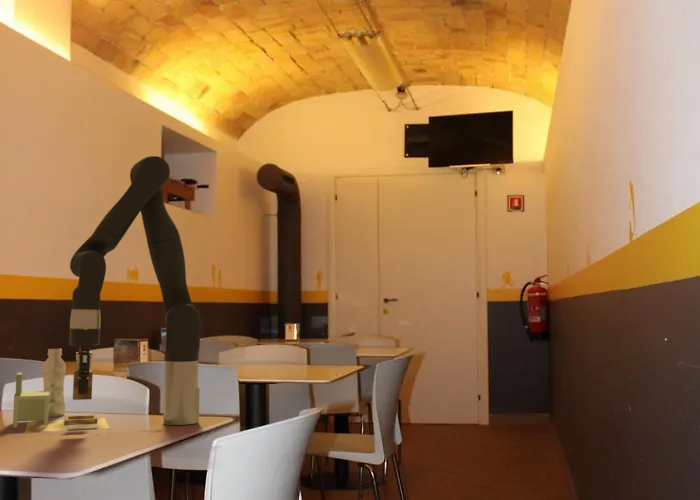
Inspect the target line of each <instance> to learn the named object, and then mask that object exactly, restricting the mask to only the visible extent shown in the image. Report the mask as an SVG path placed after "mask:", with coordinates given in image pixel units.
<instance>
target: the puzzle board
mask: <svg viewBox="0 0 700 500" xmlns="http://www.w3.org/2000/svg"><path fill="white" fill-rule="evenodd" d="M105 429H107V430H108V429H110V426H109V424H108V422H107V419H106V418H105V417H97V414H86V415H66V416H65V415H64V419H55V420H53V419H50V420H49V419H48V426H44V420H39V421H26V427H25V434H31V433H32V434H33V433H34V434H35V433H36V434H37V433H49V432H50V433H53V432H54V433H55V432H68V431H84V430H86V431H88V430H89V431H90V430H91V431H92V430H105ZM68 435H70V434H67V436H68ZM49 436H52V435H49ZM31 437H33V438H34V435H33V436H31Z"/></svg>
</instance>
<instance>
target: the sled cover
mask: <svg viewBox="0 0 700 500" xmlns="http://www.w3.org/2000/svg"><path fill="white" fill-rule="evenodd" d="M15 375H16V376H15V392H14V393H15V394H14V395H13V411H12V412H13V413H12V415H13V416H12V428H17V427H18V422H28V421H44V426H48V421H49V417H48V413H49V391H44V390H42V391H41V390H39V391H38V390H37V391H23V390H22V389H23V388H22V387H23V372H21V371H20V372H19V371H18V372H17V373H16V374H15Z"/></svg>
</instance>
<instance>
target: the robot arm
mask: <svg viewBox="0 0 700 500" xmlns="http://www.w3.org/2000/svg"><path fill="white" fill-rule="evenodd" d="M170 173H171V171H170V165H169V163H168V162H167V161H166V160H165V159H164V158H163V157H161V156H159V155H149V156H145V157H143V158H142V159H140V160H139V161H137V162H136V163H135V164H133V165H132V167H131V169H130V172H129V179H130V186H129V187H128V188H127V190H126V191H125V192H124V194H123V195H122V196H121V197H120V198H119V200H118V201H117V202H116V203H115V204H114V205H113V206H112V207H111V209H109V211H108V212H107V213H106V214H105V215H104V217H103V218H102V220H101V221H100V222H99V224H98V225H97V226H96V228H95V230H94V231H93V233H92V234H91V236H89V237H88V239H86V240H85V241H84V243H83V244H81V245H80V246H79V248H77V250H76V251H75V252H74V254H73V255H72V257H71V259H70V263H69V268H70V271H71V273H72V274H73V275H74V276H75V277H77V278H78V283H77V286H76V287H75V288H74V289H73V291H72V294H71V295H72V297H71V298H72V301H71V312H70V320H69V342H68V343H69V345H70V346H73V347H77V346H79V351H77V352H75V360H76V371H79V374H78V378H79V379H81V380H79V389H78V393H79V394H87V392H88V379H89V376H90V374H89V371H92V359H93V352H92V351H90V347H91V346H92V347H93V346H99V345H100V341H101V321H102V320H101V293H102V289H103V287H104V286H103V285H104V281H105V276H106V272H107V271H106V270H107V264H106V260H105V256H106V255H107V254H108V253H110V252H112V251H114V250H115V249H116V248H117V246H118V245H119V243H120V242H121V241H122V240H123V238H124V236H125V235H126V234H127V232H128V230H129V229H130V227H131V226H132V224H133V223H134V221H135V220H136V218H137V217H138V216H139V213H141V220H142V224H143V230H144V233H145V238H146V242H147V243H146V244H147V247H148V251H149V256H150V259H151V264H152V267H153V270H154V273H155V276H156V277H155V278H156V279H157V281H158V286H159V287H160V291H161V297H162V302H163V310H164V322H165V323H164V324H165V350H164V375H163V376H164V382H163V383H164V385H163V424H164V425H168V426H169V425H171V426H185V425H193V424H199V423H200V391H201V390H200V388H199V354H200V347H201V345H200V344H201V316H200V313H199V311H198V309H197V308H196V307H195V306H194V305H193V302H192V299H191V296H190V293H189V289H188V285H187V278H186V277H187V272H186V271H187V270H186V259H185V253H184V247H183V244H182V240H181V236H180V233H179V232H180V231H179V229H178V227H177V226H176V224H175V222H174V221H173V218H172V217H171V216H170V214H169V212H168V211H167V209H166V205H165V202H164V197H163V192H162V187H163V186H164V185H165V184H167V182H168V180H169V178H170V175H171V174H170ZM81 371H87V373H81Z"/></svg>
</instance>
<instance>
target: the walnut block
mask: <svg viewBox="0 0 700 500" xmlns="http://www.w3.org/2000/svg"><path fill="white" fill-rule="evenodd" d="M93 372H94V371H93V370H90V371H89V374H90V376H89V379H88V392H87V394H79V393H78V389H79V380H81V379H79V378H78V374H79V371H78V370H73V385H72V400H73V401H77V400H78V401H79V400H81V401H83V400H92V398H93V397H92V396H93V375H94V374H93ZM81 373H87V371H81Z"/></svg>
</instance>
